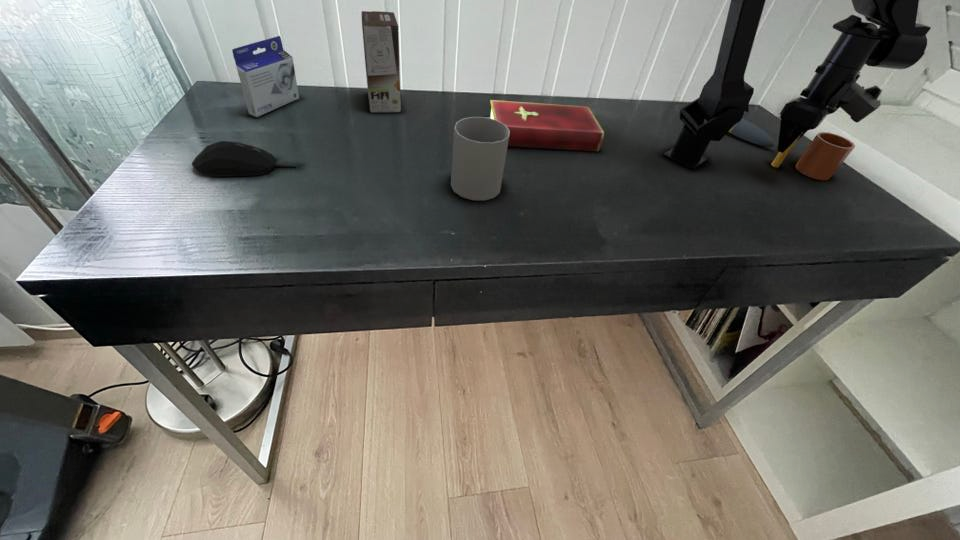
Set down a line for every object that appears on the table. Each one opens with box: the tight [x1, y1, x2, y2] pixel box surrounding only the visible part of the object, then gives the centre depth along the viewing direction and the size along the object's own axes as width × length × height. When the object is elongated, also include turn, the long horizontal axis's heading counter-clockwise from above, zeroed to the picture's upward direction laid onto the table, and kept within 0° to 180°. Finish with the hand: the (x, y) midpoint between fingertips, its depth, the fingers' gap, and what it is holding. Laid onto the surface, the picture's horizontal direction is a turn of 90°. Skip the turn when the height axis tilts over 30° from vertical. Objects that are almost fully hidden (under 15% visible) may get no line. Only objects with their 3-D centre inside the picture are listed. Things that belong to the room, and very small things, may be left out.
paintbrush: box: [704, 118, 776, 148], centre depth 95 cm, size 20×5×5 cm, turn 48°
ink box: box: [231, 35, 300, 118], centre depth 78 cm, size 12×2×12 cm, turn 155°
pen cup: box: [794, 131, 856, 181], centre depth 84 cm, size 7×7×7 cm
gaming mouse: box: [191, 140, 297, 177], centre depth 66 cm, size 6×15×4 cm, turn 99°
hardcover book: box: [487, 99, 605, 152], centre depth 84 cm, size 12×21×4 cm, turn 95°
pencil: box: [770, 136, 800, 168], centre depth 84 cm, size 2×2×7 cm
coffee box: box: [361, 10, 402, 113], centre depth 83 cm, size 9×6×16 cm
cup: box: [450, 116, 510, 201], centre depth 66 cm, size 8×8×10 cm
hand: (787, 145), depth 84 cm, fingers open, 9 cm apart
